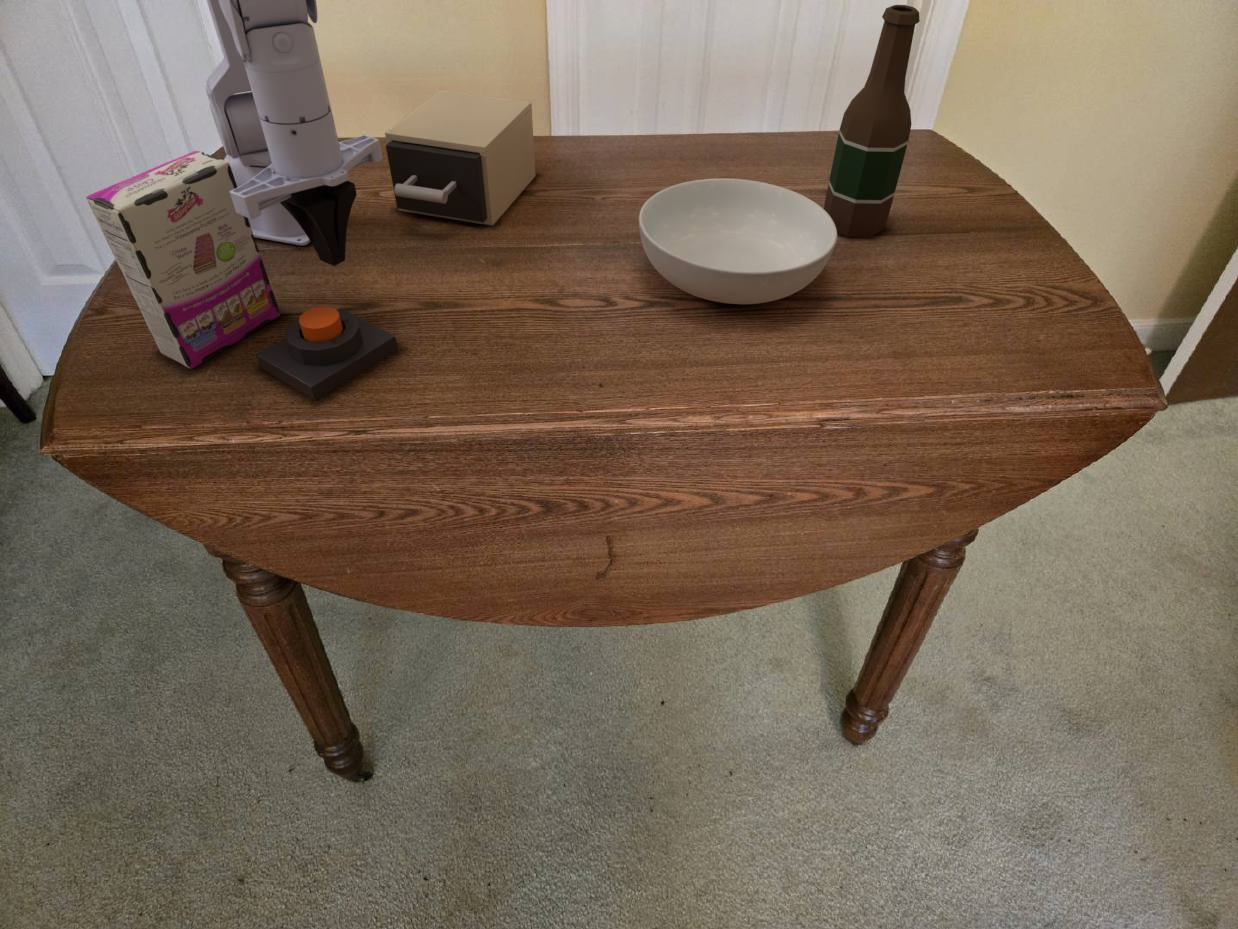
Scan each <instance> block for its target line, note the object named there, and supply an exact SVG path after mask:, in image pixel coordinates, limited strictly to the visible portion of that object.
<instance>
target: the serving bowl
mask: <svg viewBox="0 0 1238 929" xmlns="http://www.w3.org/2000/svg"><path fill="white" fill-rule="evenodd" d="M638 214H639V215H638V227H639V228H638V229H639V237H640V241H641V245H642V247H643V250H644V252H645V255H646V257H647V259H648V261H649V262H650V264H651V265H652V267H653V268H654V269H655V270H656V271H657V272H658V273H659V275H660V276H661V277H663V278H664V279H665V280H666V281H667V282H668V283H670V284H671V285H673V287H676V288H678V289H679V290H681V291H683V292H685V293H687V294H689V295H692V296H694V297H696V298H700V299H704V300H706V301H712V302H716V303H722V304H729V305H730V304H731V305H756V304H764V303H769V302H774V301H778V300H781V299H784V298H786V297H790V296H793V294H795V293H797V292H799V291H801V290H803V289H804V288H805V287H808V285H810V284H811V283H812V282H813V281H815V279H817V277H818V276H819V275H820V274H821V273H822V272H823V270H824V269H825V267H826V266H827V264H828V262H829V260H830V259H831V257H832V254H833V253H834V252H833V251H834V249H835V248H836V245H837V241H838V233H837V229H836V226H835V224H834V222H833V220H832V218H831V217H830V216H829V214H828V213H827V212H826V211H825V210H824V207H822V206H821V205H819V204H817V203H816V202H815V201H813V200H812V199H810V198H809V197H806V196H804V195H802V194H800V193H798V192H796V191H793V190H791V189H788V188H785V187H782V186H778V185H776V184H772V183H769V182H768V183H767V182H762V181H757V180H751V179H743V178H704V179H695V180H690V181H685V182H680V183H677V184H674V185H671V186H669V187H666V188H664V189H662V190H660V191H658V192H656V193H654V194H653V195H652V196H651V197H649V198H647V200H646V201H645V202H644V203H643V205H642V207H641V208H640V210H639V213H638Z"/></svg>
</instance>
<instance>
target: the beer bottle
mask: <svg viewBox="0 0 1238 929" xmlns="http://www.w3.org/2000/svg"><path fill="white" fill-rule="evenodd" d="M881 18H882V20H883V24H882V28H881V31H880V35H879V39H878V42H877V45H876V49H875V53H874V57H873V60H872V64H871V67H870V70H869V74H868V76H867V79H866V81H865V84H864V86H863V88H861V89H860V91H859V92H858V93H857V94H856V95H855V96H854V97H853V98H852V99H851V100H850V103H849V104H848V106H847V107H846V110H845V111H844V113H843V114H842V115H843V116H842V119H841V122H840V127H839V131H838V135H837V139H836V145H835V149H834V155H833V159H832V163H831V164H832V165H831V168H830V169H831V170H830V174H829V180H828V183H827V189H826V193H825V199H824V205H823V209H824V210H825V211H826V212H827V213H828V214H829V216H830V217H831V218H832V220H833V222H834V224H835V226H836V229H837V235H841V236H843V237H845V238H856V239H857V238H865V239H867V238H869V239H871V238H872V237H874V236H875V235H877V234H878V233H880V232H882V231H883V230H884V229H885V227H886V225H887V222H888V218H889V216H890V213H891V210H892V209H891V208H892V205H893V200H894V197H895V194H896V190H897V186H898V182H899V178H900V175H901V172H902V167H903V163H904V160H905V155H906V152H907V149H908V148H907V147H908V144H909V139H910V134H911V129H912V116H911V115H912V114H911V113H912V112H911V108H910V104H909V102H908V99H907V96H906V93H905V90H906V89H905V88H906V76H907V72H908V66H909V61H910V55H911V51H912V50H911V49H912V44H913V41H914V40H913V39H914V34H915V28H916V26H917V24H918V23H920V11H919V10H918V9H917V8H916V7H914V6H910V5H906V4H893V5H891V6H888V7H886V8H885V10H884V12H883V13H882V16H881Z"/></svg>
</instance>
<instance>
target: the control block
mask: <svg viewBox="0 0 1238 929" xmlns="http://www.w3.org/2000/svg"><path fill="white" fill-rule="evenodd" d="M336 310H337V311H338V313H339V316H340V319H341V323H342V327H343V332H342V334H341V335H340V336H338V337H336V338H335V339H333V340H329V341H325V342H308V341H307V340H305V338H304V336H303V333H302V330H301V327H300V323H299V318H300V317H298V318H296V319H295V320H293V321H292V322H291V323H290V324H289V326H288V327H287V329H286V330H285V338H284V339H282V340H280V341H278V342H276V343H275V344H272V345H271V346H269V347H267V348H265V349H264V350H261V351H260V352H258V353H257V354H256V357H257V360H258V363H259V366H260V369H261V370H263V371H264V372H266V373H268V374H269V375H271V376H273V377H274V378H276V379H278V380H279V381H281V382H283V383H285V384H286V385H288V386H289V387H291V388H293V389H294V390H296V391H298V392H300V393H301V394H303V395H304V396H306V397H308V398H310V399H311V400H312V401H314V402H317V401H318V400H320V399H322V398H323V397H324V396H326V395H328V394H330V393H331V392H333V391H334V390H336V389H338V388H339V387H341V386H342V385H345V384H346V383H347V382H349V381H351V380H352V379H354V378H355V377H357V376H359V375H360V374H362V373H363V372H365V371H367V370H369V369H370V368H372V367H373V366H375V365H377V364H379V362H381V361H383V360H385V359H386V358H388V357H389V356H391V355H392V354H394V353H396V352H398V351H399V348H398V347H399V346H398V343H397V338H396V335H394V334H392V333H390V332H387V330H384V329H382V328H380V327H378V326H376V325H375V324H372V323H371V322H369V321H366V320H365V319H363V318H362V317H359V316H357V315H355V314H353V313H351V312H349V311H347V310H345V309H343V308H338V309H336Z"/></svg>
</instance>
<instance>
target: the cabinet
mask: <svg viewBox="0 0 1238 929" xmlns="http://www.w3.org/2000/svg"><path fill="white" fill-rule="evenodd" d="M532 106H533V104H532V102H531V101H527V100H519V99H511V98H503V97H496V96H490V95H489V96H487V95H481V94H474V93H467V92H465V93H464V92H457V91H450V90H442V89H439V90H438V91H436V92H435V93H434V94H432V95H431V96H430V97H428V98H427V99H426V100H425V101H424V102H422V103H420V105H419V106H417V107H416V108H414V109H413V110H412V111H411V112H409V113H408V114H407V115H406V116H404V117H403V118H402V119H400V120H399V121H398V122H397V123H395V124H394V125H393V126H392V127H390V128H389V129H388V130H386V131H385V132H384V137H385V143H386V145H387V144H388V143H389V142H390V141H391V142H398V143H402V142H407V143H414V144H421V145H428V146H435V147H442V148H449V149H456V150H462V151H469V152H476V153H480V155H481V161H482V171H483V181H484V191H485V200H486V210H487V219H486V220H485V221H484V222H477V221H471V220H465V219H459V218H453V217H447V216H440V215H434V214H428V213H422V212H416V211H410V210H404V209H398V208H397V210H398V211H401V212H406V213H412V214H420V215H423V216H424V215H425V216H431V217H437V218H444V219H450V220H457V221H461V222H467V223H468V222H469V223H473V224H480V225H485V226H491V227H492V226H494V225H495V224H496V223H497V222H498V220H499V219H500V218H501V217H502V216H503V215H504V213H505V212H506V211H507V210H508V209H509V208H510V207H511V205H512V204H513V203H514V202H515V201H516V200H517V198H518V197H519V196H520V195H521V194H522V193H523V191H524V190H525V189H526V188H527V187H528V185H530V183H531V182H532V181H533V180H534V178H536V162H535V161H536V159H535V143H534V142H535V141H534V140H535V139H534V122H533V109H532V108H533V107H532Z"/></svg>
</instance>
